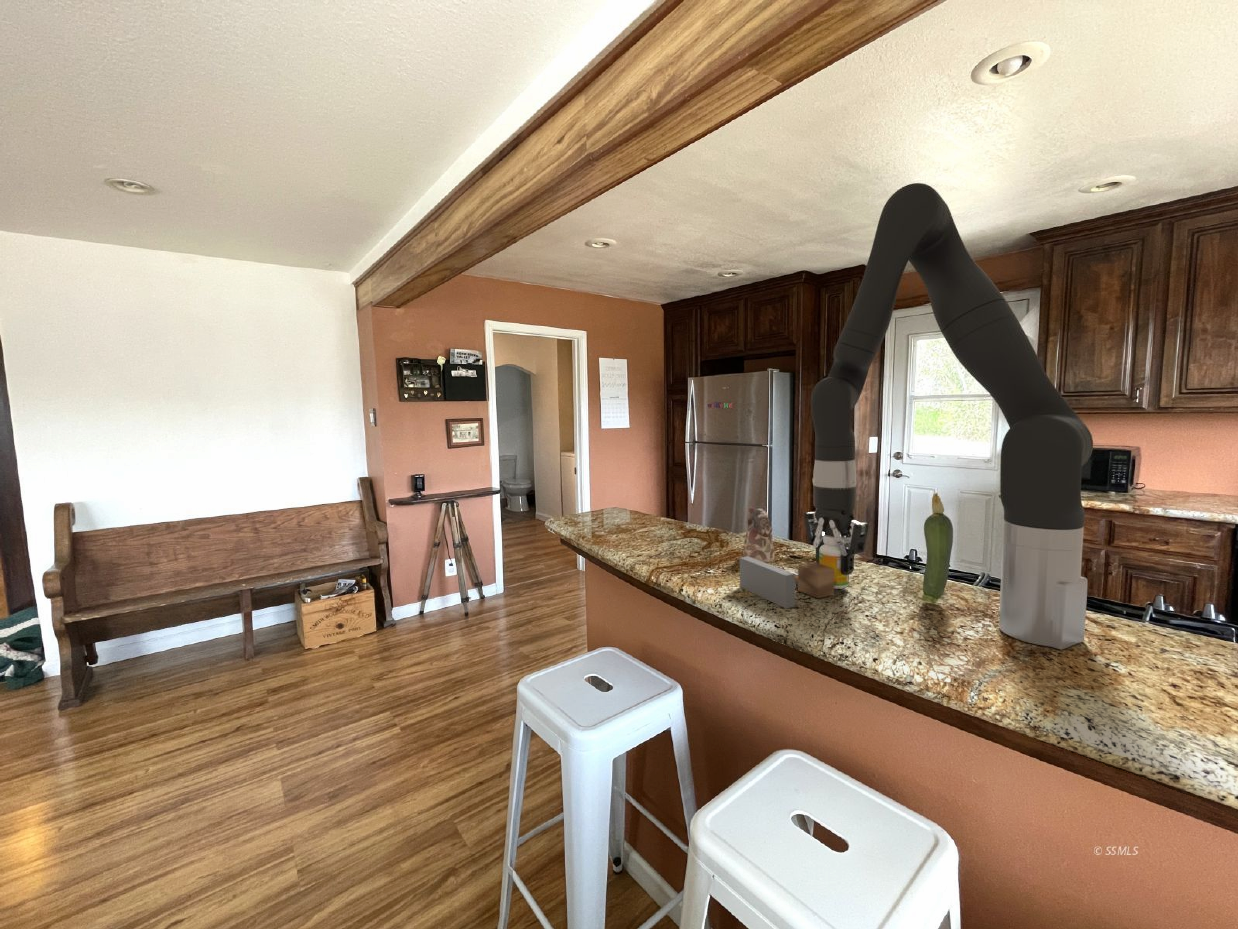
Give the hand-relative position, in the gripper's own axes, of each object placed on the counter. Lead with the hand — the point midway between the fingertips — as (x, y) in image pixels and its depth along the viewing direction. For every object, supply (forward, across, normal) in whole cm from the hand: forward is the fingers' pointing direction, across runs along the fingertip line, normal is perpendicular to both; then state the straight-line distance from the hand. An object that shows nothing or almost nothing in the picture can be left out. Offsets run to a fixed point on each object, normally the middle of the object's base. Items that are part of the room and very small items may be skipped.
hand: (833, 569), depth 100 cm
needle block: (+4, +2, +5) cm, 6 cm away
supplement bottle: (+3, 0, 0) cm, 3 cm away
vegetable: (+4, -14, -10) cm, 17 cm away
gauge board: (+4, +3, +5) cm, 7 cm away
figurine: (+4, +24, -1) cm, 24 cm away
